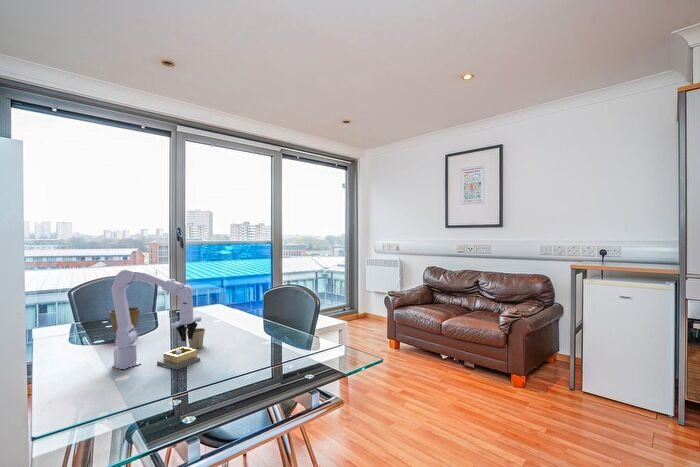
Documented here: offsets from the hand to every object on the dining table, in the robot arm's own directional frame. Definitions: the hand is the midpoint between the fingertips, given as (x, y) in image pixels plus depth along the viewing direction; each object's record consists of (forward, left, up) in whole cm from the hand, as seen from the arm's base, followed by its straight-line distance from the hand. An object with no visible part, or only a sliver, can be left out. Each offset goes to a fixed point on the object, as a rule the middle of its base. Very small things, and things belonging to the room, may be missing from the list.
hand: (186, 339), depth 162 cm
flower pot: (-12, +14, -10) cm, 20 cm away
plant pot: (-65, +7, -10) cm, 66 cm away
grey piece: (0, -4, -9) cm, 10 cm away
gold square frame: (0, -4, -8) cm, 9 cm away
